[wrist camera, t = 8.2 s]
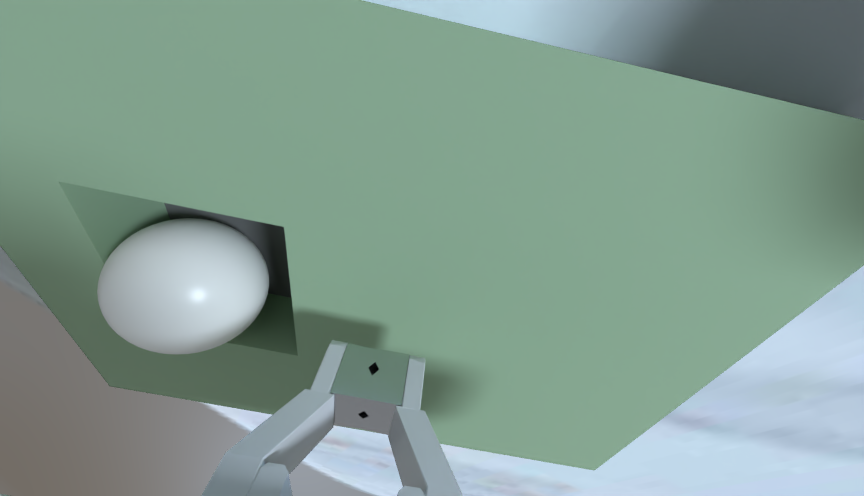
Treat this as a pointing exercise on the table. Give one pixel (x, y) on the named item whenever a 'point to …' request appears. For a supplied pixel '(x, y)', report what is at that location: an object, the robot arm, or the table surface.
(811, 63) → the table surface
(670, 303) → the green
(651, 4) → the table surface
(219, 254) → the ball
